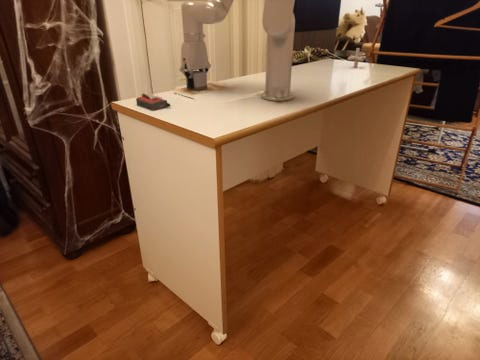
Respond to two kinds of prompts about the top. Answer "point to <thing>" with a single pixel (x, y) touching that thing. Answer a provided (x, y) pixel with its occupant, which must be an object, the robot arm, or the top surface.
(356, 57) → the pipe connector
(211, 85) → the board
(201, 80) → the block
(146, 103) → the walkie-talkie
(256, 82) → the top surface
